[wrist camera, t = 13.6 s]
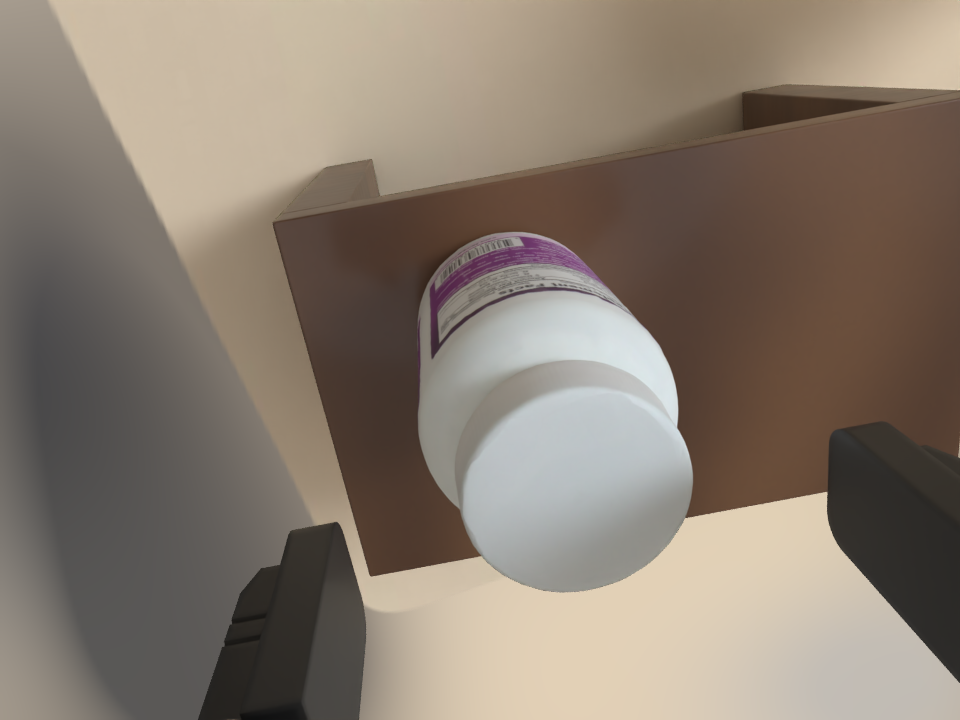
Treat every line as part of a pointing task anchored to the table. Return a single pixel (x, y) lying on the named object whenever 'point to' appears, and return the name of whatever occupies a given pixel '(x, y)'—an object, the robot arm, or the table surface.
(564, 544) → the pill bottle
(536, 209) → the desk shelf
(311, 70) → the table surface
